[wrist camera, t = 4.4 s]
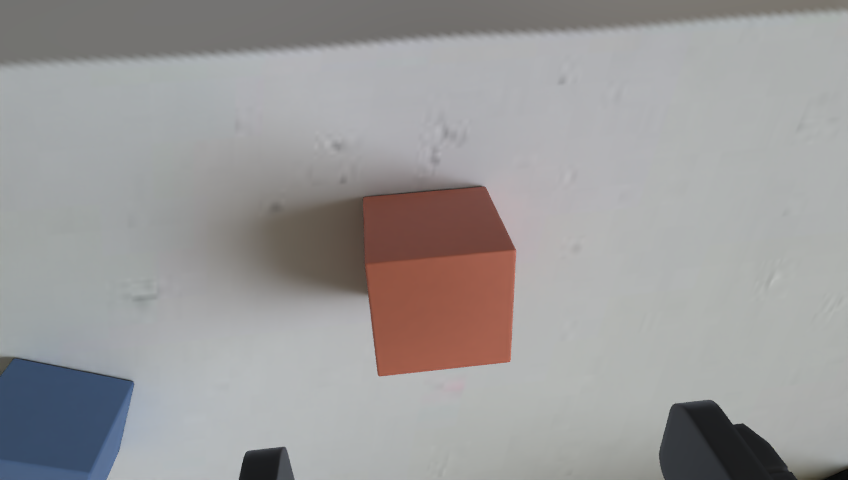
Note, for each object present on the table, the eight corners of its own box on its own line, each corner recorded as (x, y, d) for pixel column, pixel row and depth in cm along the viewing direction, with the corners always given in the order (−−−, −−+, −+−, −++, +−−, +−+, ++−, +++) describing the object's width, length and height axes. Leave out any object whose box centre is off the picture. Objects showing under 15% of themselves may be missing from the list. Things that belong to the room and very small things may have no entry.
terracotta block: (373, 297, 20) (377, 377, 16) (362, 196, 18) (364, 264, 14) (484, 285, 20) (511, 362, 16) (485, 185, 18) (516, 249, 14)
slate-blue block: (7, 432, 21) (-61, 533, 18) (13, 356, 19) (-60, 452, 16) (119, 450, 22) (76, 548, 19) (135, 380, 20) (91, 474, 17)
